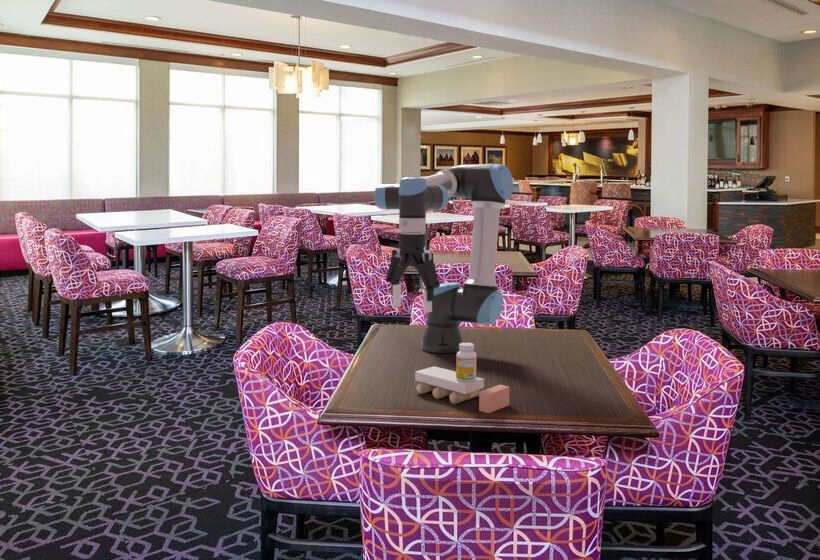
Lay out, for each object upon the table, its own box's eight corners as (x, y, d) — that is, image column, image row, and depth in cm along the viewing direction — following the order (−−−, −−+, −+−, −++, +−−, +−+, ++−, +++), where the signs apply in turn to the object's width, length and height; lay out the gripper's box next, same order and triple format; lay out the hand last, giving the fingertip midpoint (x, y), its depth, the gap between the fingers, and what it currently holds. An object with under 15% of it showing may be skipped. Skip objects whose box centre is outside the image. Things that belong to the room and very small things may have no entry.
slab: (415, 380, 191) (415, 371, 191) (434, 374, 197) (434, 366, 196) (465, 394, 179) (465, 384, 178) (483, 387, 184) (484, 378, 184)
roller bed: (416, 392, 190) (416, 382, 189) (440, 385, 197) (440, 375, 196) (458, 405, 179) (458, 394, 179) (481, 396, 187) (481, 386, 186)
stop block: (479, 410, 175) (479, 391, 175) (499, 402, 182) (500, 384, 181) (488, 413, 173) (488, 394, 172) (509, 405, 180) (509, 386, 179)
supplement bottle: (462, 375, 187) (463, 340, 186) (479, 378, 184) (480, 343, 183) (452, 380, 183) (452, 344, 181) (469, 383, 180) (470, 347, 178)
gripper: (373, 231, 197) (373, 305, 200) (435, 236, 181) (434, 316, 184) (391, 230, 202) (391, 302, 206) (453, 234, 186) (452, 313, 189)
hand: (411, 309), depth 195 cm, fingers open, 11 cm apart
